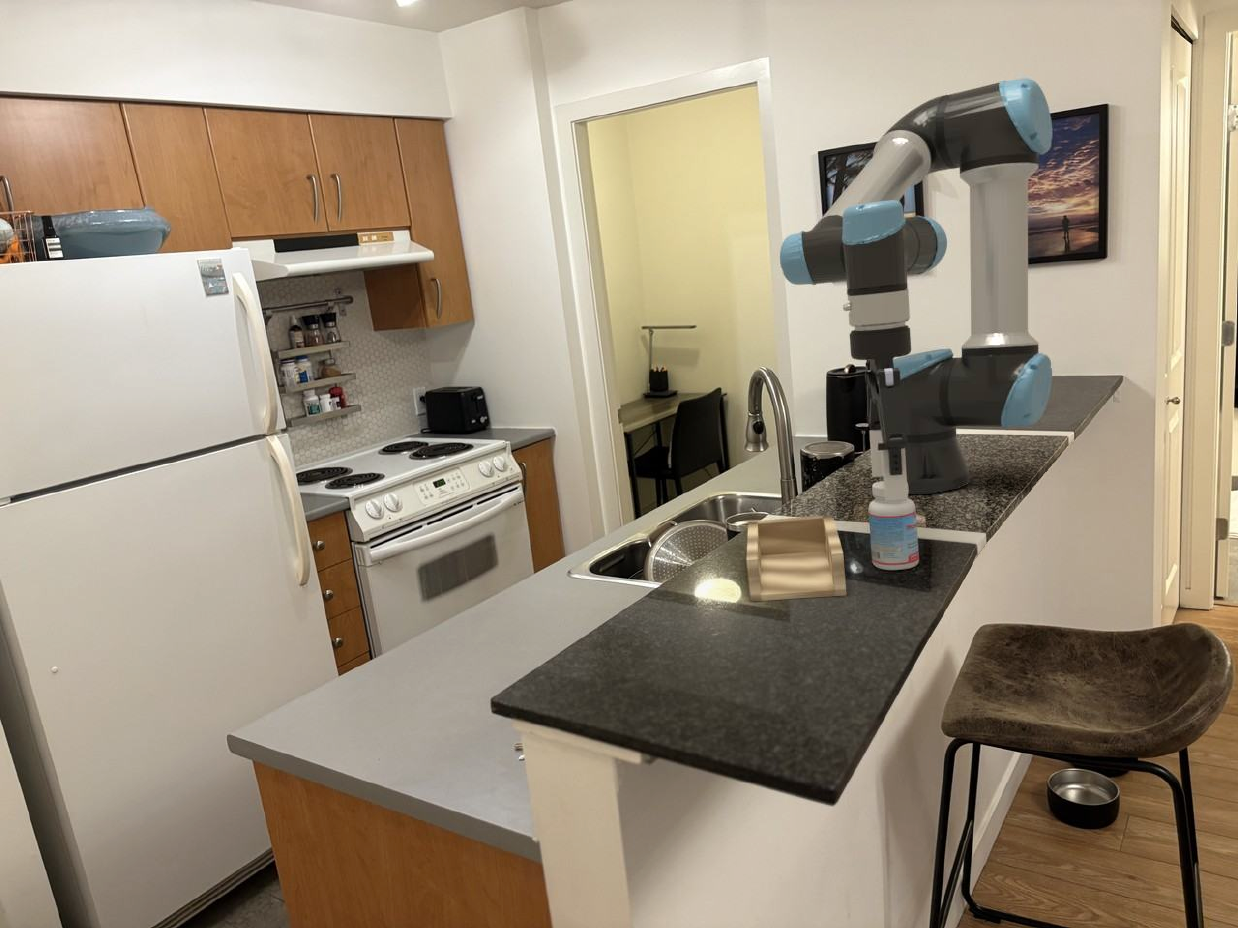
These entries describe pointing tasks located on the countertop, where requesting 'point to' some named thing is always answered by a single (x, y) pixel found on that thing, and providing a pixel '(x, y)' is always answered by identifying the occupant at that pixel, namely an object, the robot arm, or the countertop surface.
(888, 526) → the pill bottle
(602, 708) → the countertop surface
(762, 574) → the cradle
